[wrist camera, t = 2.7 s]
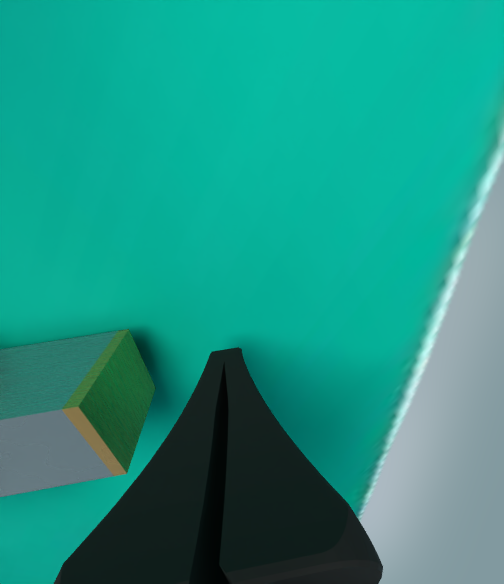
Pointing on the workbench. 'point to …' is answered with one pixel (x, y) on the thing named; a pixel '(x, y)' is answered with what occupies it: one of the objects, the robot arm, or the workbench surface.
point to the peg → (70, 410)
